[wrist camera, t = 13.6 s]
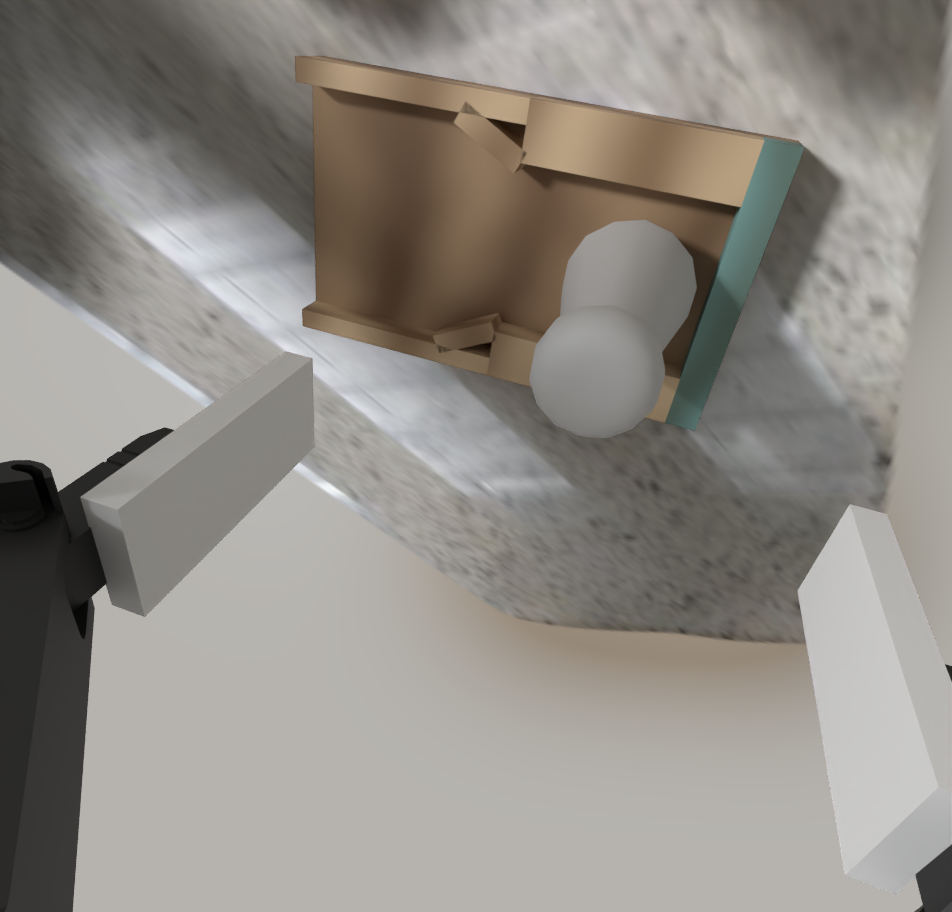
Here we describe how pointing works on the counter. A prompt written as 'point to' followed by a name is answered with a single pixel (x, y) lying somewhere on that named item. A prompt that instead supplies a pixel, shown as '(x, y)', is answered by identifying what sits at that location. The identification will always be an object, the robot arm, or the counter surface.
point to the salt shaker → (613, 329)
